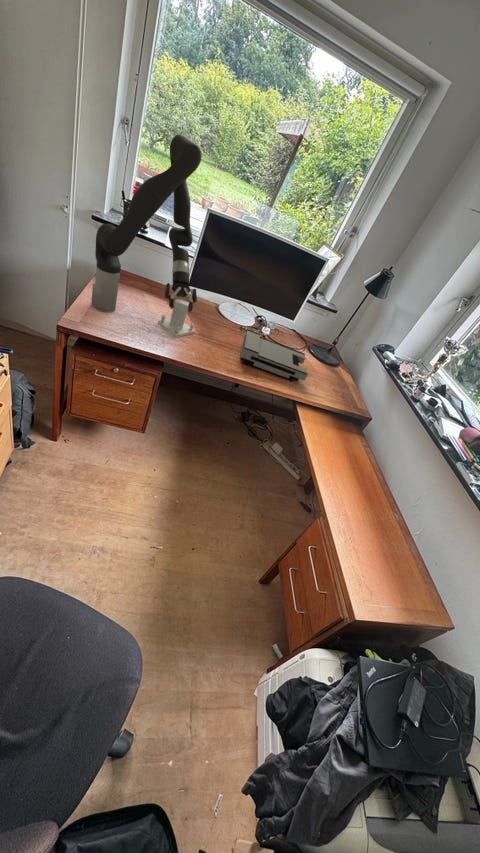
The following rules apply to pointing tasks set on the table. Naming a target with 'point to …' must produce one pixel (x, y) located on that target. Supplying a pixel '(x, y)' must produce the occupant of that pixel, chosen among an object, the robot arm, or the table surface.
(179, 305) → the skincare box
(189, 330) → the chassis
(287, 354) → the grey slotted box
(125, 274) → the table surface
